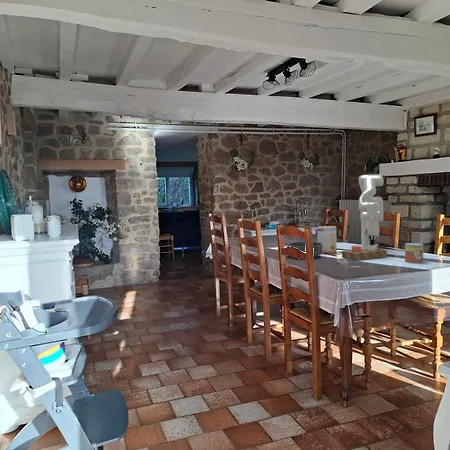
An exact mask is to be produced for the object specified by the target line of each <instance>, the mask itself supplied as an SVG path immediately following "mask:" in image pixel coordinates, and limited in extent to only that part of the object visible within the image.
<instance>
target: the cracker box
mask: <svg viewBox="0 0 450 450" xmlns="http://www.w3.org/2000/svg"><path fill="white" fill-rule="evenodd" d="M316 231H317V232H316V234H317V235H316V237H317V238H316V239H317V241H316V242H319V243H322V244H323V245H322V252H321V254H320V255H323V254H322V253H327V254H337V250H338V249H337V247H338V246H337V226H335V225H331V226H330V225H328V226H325V225H324V226H322V225H321V226H317V227H316Z"/></svg>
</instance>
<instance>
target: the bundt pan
mask: <svg viewBox="0 0 450 450" xmlns="http://www.w3.org/2000/svg"><path fill="white" fill-rule="evenodd" d="M305 242H306V241H293V242H287V243H286V245H287V248H288V247H289V246H291V247H295V248H298V249H299V250H301V251H303V252H306V251H305ZM312 242H313V248H314V256H315V257H314V258H317V257H319V256H320V255H322V254H321V252H322V245H323V244H322V243H319V242H317V241H312Z"/></svg>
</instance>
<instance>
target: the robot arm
mask: <svg viewBox="0 0 450 450" xmlns="http://www.w3.org/2000/svg"><path fill="white" fill-rule="evenodd" d="M384 183H385V180H384V176H383V175H382V174H380V173H379V174H362V175H360V176H358V185H359V187H360V190H361V194H360V196H359V199H358V210H359V211H360V215H359V216H360V226H361V229H360V230H361V236H360V237H361V239H360V240H361V241H360V242H361V245H360V246H361V249H368V245H377V247H379V243H375V240H376V238H378V237H379V236H380V223H381V222H383V221H384V200H383V197H381V196H375V195H376V194H377V187H382V186H383V185H384Z"/></svg>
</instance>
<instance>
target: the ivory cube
mask: <svg viewBox="0 0 450 450" xmlns="http://www.w3.org/2000/svg"><path fill="white" fill-rule="evenodd" d="M377 249H378V246H377V245H368V250H370V251H375V250H377Z"/></svg>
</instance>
